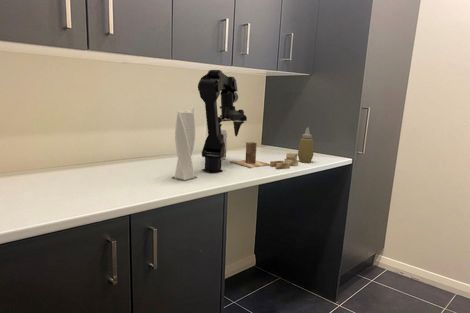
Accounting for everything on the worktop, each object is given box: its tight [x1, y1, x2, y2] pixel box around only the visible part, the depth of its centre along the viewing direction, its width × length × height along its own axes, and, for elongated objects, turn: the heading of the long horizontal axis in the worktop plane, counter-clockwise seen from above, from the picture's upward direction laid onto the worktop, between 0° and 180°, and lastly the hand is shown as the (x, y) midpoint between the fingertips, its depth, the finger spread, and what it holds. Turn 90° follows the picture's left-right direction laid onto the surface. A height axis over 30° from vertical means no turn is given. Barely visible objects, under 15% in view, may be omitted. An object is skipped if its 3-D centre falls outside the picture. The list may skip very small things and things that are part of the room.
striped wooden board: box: [229, 159, 270, 169], centre depth 163 cm, size 14×14×1 cm
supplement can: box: [221, 128, 228, 161], centre depth 172 cm, size 8×8×15 cm
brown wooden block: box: [244, 141, 257, 164], centre depth 162 cm, size 4×3×10 cm
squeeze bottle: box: [297, 127, 314, 164], centre depth 174 cm, size 8×8×18 cm
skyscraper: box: [171, 105, 198, 182], centre depth 127 cm, size 8×8×28 cm
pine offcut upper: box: [285, 152, 298, 161], centre depth 164 cm, size 4×4×3 cm
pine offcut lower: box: [283, 158, 300, 167], centre depth 165 cm, size 5×5×3 cm
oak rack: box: [269, 160, 291, 170], centre depth 158 cm, size 7×6×2 cm
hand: (228, 137), depth 159 cm, fingers open, 9 cm apart
